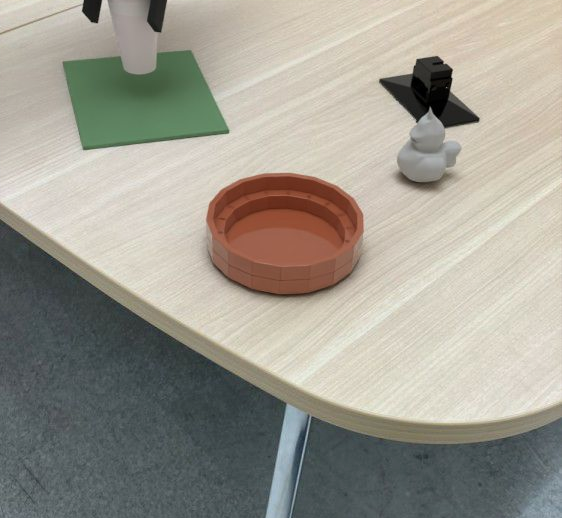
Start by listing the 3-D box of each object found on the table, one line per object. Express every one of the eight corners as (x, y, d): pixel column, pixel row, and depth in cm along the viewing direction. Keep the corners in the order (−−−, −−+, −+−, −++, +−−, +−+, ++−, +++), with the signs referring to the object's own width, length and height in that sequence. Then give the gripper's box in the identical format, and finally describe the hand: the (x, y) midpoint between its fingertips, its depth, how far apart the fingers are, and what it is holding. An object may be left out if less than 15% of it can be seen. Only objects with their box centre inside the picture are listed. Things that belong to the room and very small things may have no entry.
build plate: (479, 122, 92) (489, 84, 88) (425, 132, 89) (432, 94, 86) (427, 73, 99) (434, 36, 96) (376, 81, 97) (381, 44, 94)
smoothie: (152, 84, 87) (140, -52, 76) (100, 73, 88) (82, -63, 78) (177, 60, 91) (169, -73, 81) (127, 49, 92) (113, -83, 82)
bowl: (229, 309, 68) (228, 278, 65) (193, 213, 77) (191, 182, 74) (382, 283, 71) (387, 253, 68) (330, 194, 80) (333, 164, 78)
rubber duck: (387, 164, 84) (399, 94, 78) (446, 160, 85) (461, 91, 80) (402, 193, 81) (415, 122, 75) (462, 189, 82) (480, 118, 76)
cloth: (83, 149, 84) (82, 146, 83) (63, 64, 97) (62, 61, 96) (229, 132, 87) (229, 129, 87) (190, 52, 100) (190, 49, 100)
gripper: (259, -168, 84) (218, 49, 85) (88, -186, 86) (50, 24, 87) (246, -219, 76) (202, 19, 77) (59, -238, 79) (19, -7, 80)
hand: (121, 21), depth 82 cm, fingers closed on smoothie, 6 cm apart
